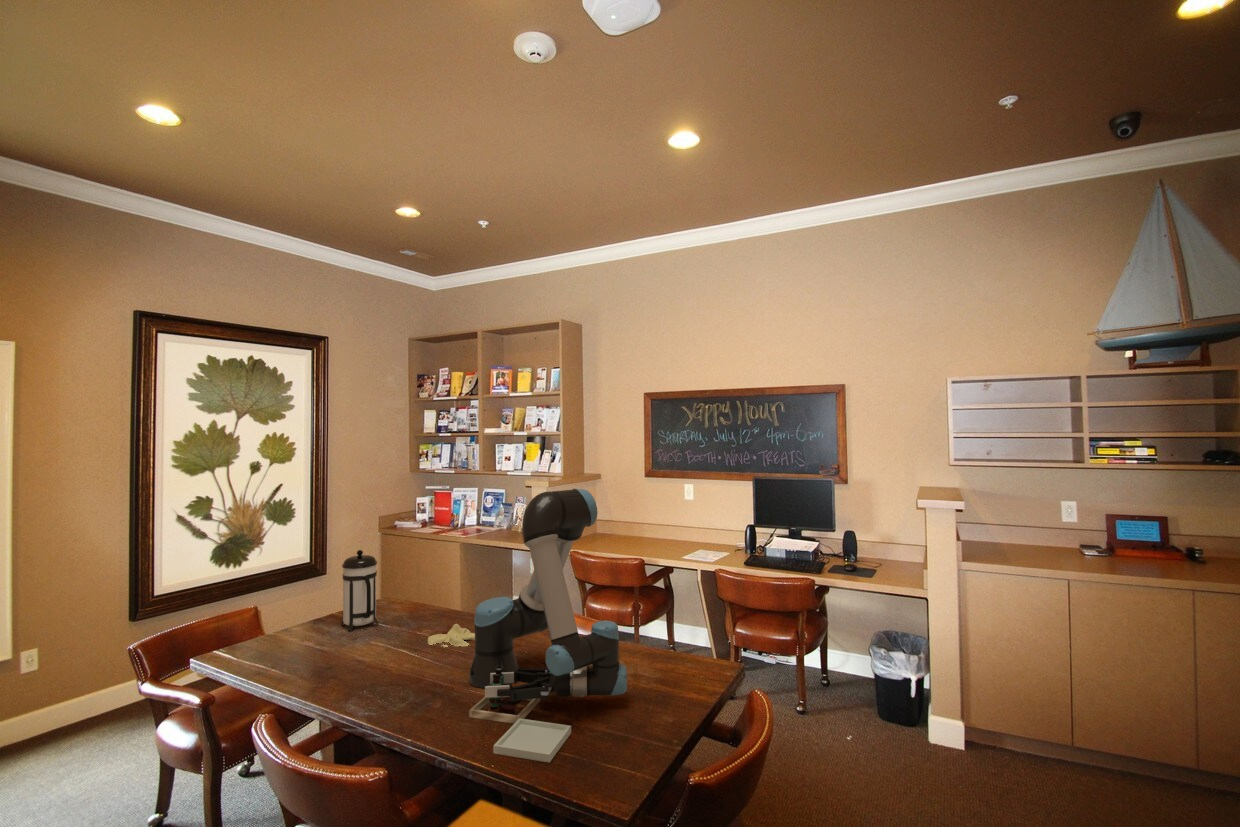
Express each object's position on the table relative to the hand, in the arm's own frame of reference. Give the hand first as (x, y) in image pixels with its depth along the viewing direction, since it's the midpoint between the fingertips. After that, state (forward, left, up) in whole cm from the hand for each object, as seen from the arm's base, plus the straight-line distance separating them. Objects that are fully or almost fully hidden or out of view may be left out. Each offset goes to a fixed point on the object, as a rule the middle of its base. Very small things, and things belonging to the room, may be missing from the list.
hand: (488, 685), depth 157 cm
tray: (+20, -12, -7) cm, 24 cm away
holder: (+5, +2, -7) cm, 8 cm away
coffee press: (-84, +49, -7) cm, 98 cm away
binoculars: (+5, +2, -7) cm, 8 cm away
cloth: (-38, +45, -7) cm, 59 cm away
